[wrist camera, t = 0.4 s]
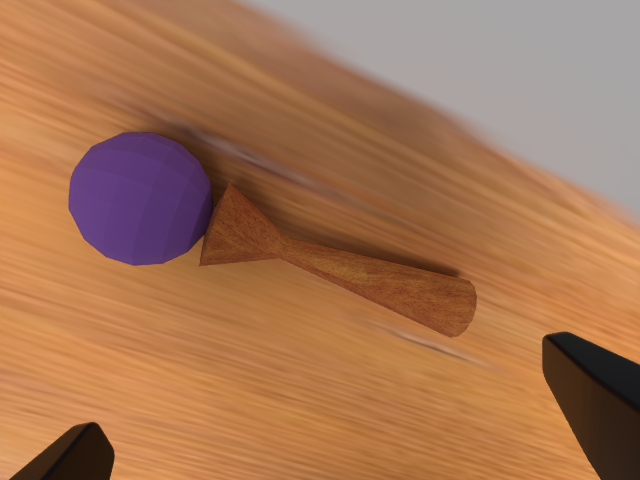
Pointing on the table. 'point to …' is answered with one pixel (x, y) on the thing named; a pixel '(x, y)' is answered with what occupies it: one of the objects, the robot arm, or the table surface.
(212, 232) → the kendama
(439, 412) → the table surface
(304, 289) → the table surface
